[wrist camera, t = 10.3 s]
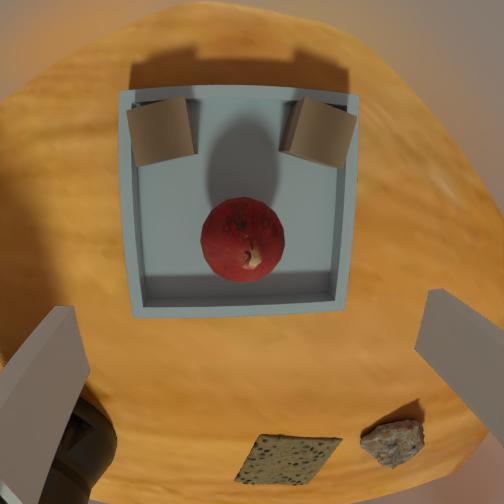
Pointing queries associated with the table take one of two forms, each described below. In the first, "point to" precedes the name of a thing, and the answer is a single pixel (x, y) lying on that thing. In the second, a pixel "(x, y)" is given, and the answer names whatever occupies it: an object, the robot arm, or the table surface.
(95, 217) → the table surface
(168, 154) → the walnut cube
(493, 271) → the table surface
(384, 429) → the rock
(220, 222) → the onion
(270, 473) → the speckled stone tile
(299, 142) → the walnut cube
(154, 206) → the dish
